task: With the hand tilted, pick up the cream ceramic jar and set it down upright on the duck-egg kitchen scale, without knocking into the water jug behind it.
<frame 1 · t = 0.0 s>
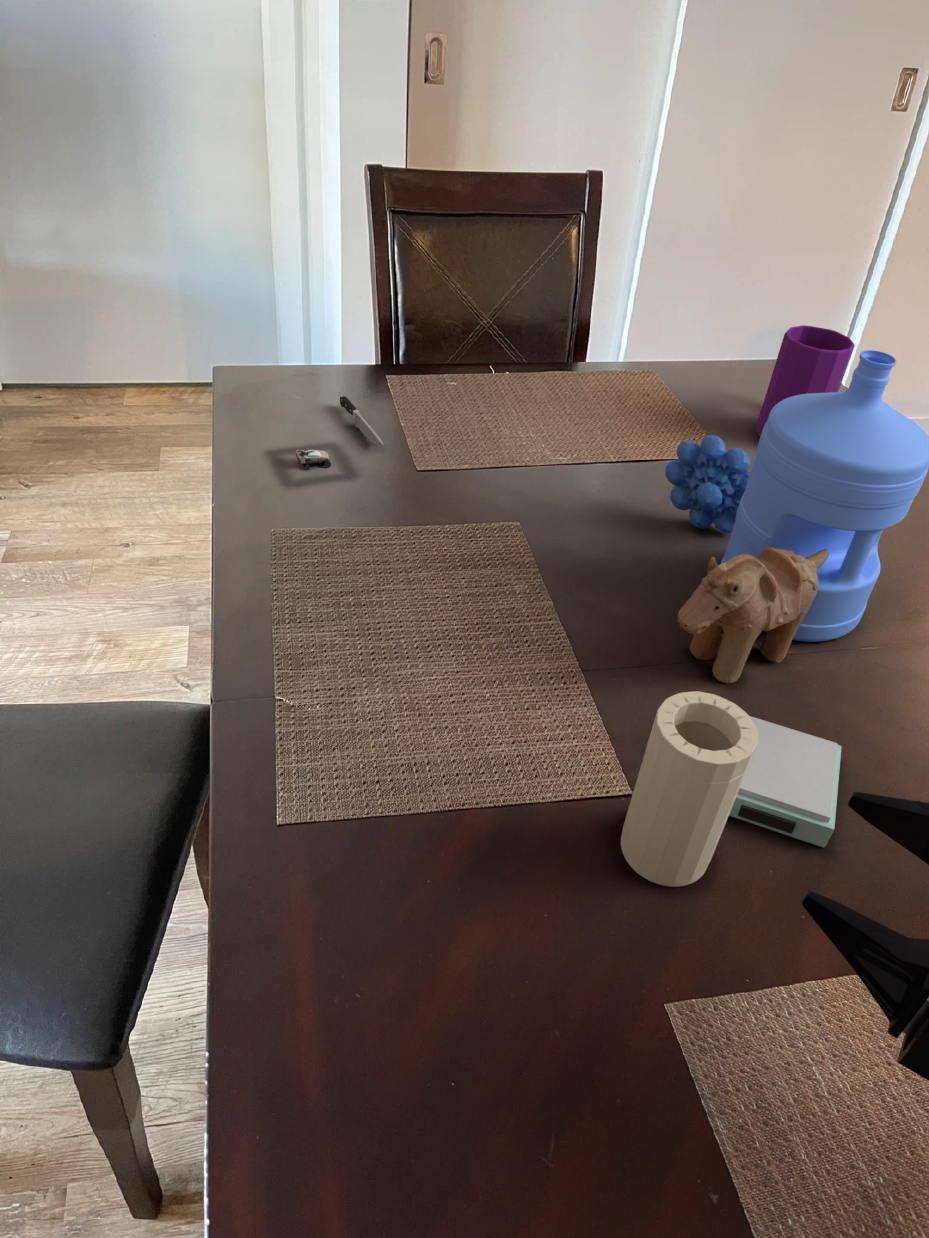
hand: (828, 844, 55), 15 cm above the table, tool horizontal, fingers open, 9 cm apart
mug: (786, 430, 134), on the table
water jug: (785, 601, 100), on the table
scale: (769, 784, 79), on the table
blue knobby flower: (698, 532, 110), on the table
jar: (664, 849, 72), on the table
figurine: (726, 666, 91), on the table
toy car: (312, 465, 115), on the table
knife: (361, 432, 123), on the table
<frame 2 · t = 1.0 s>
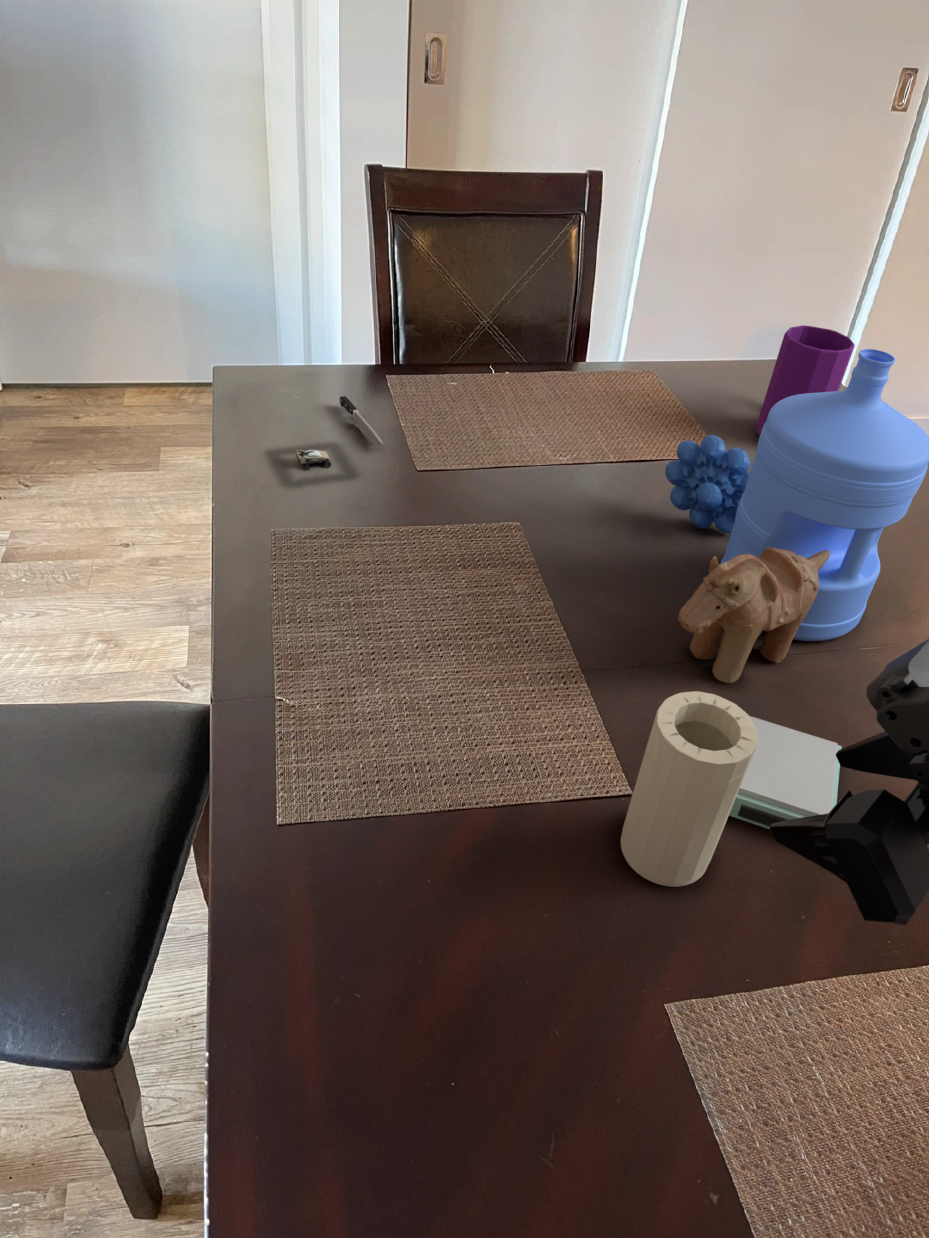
hand: (807, 793, 60), 14 cm above the table, tool tilted 45°, fingers open, 9 cm apart
nothing on the table moved.
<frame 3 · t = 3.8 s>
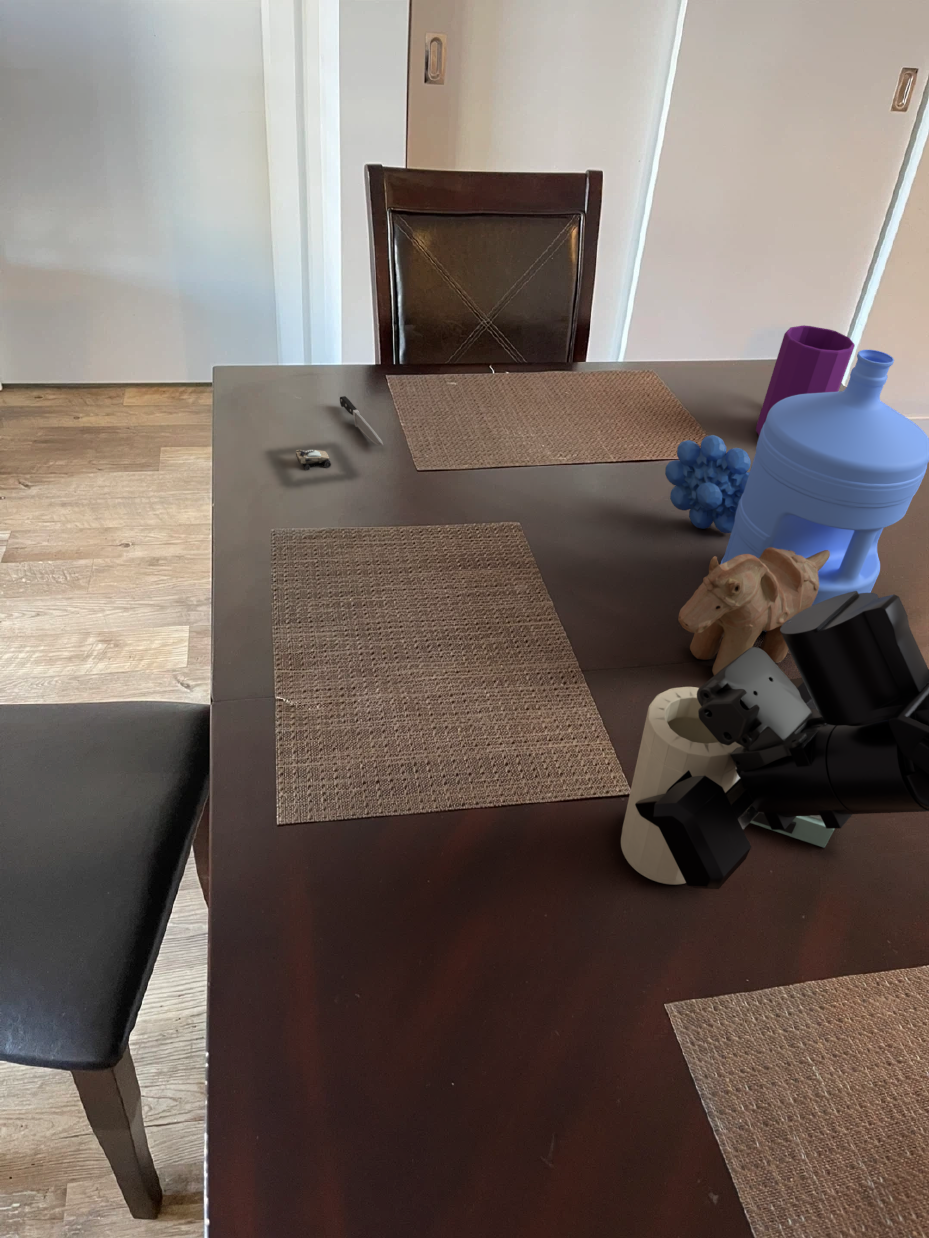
hand: (667, 782, 69), 7 cm above the table, tool tilted 45°, fingers closed on jar, 7 cm apart
jar: (664, 847, 72), on the table, touching gripper
everything else where it was.
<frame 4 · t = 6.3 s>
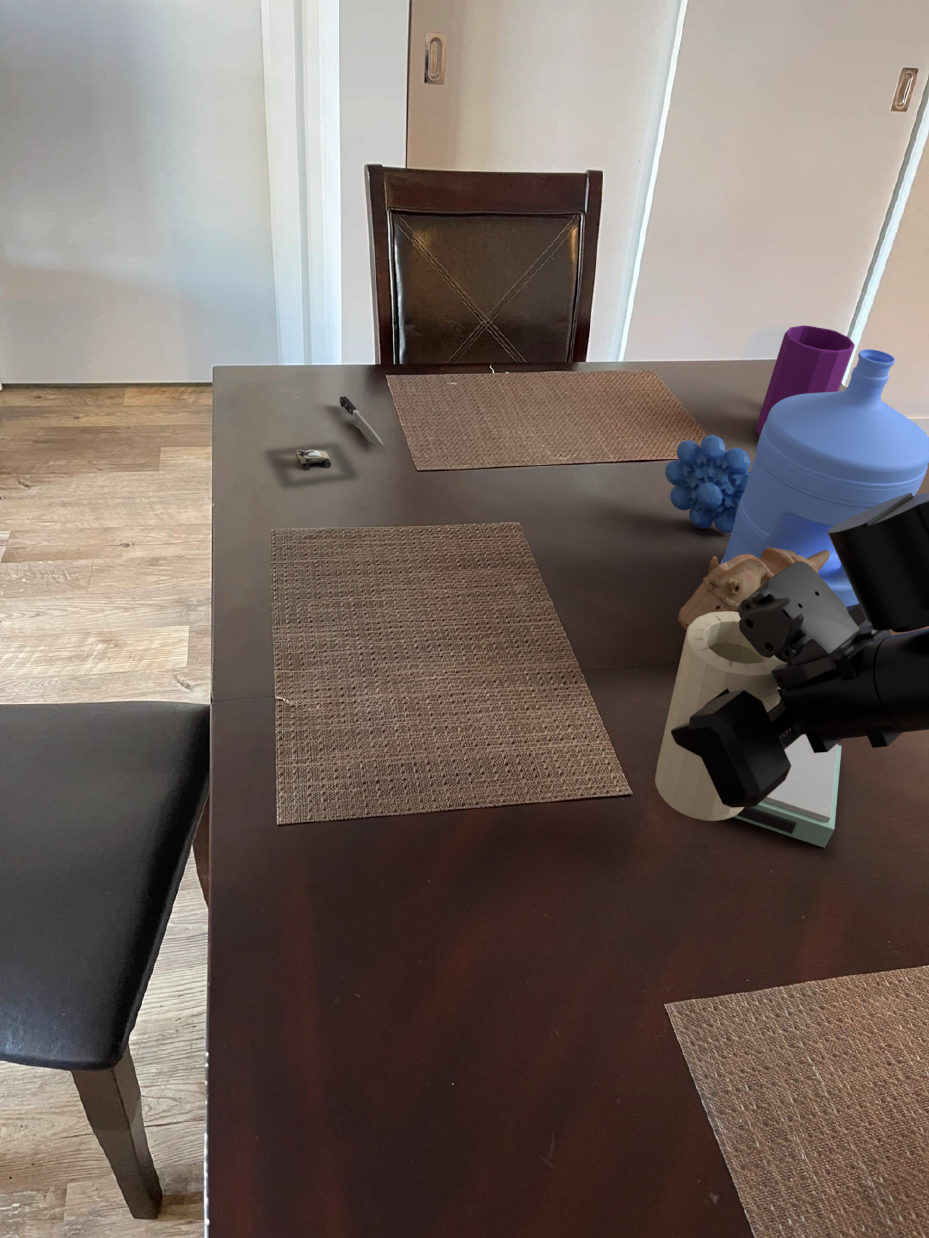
hand: (705, 713, 66), 13 cm above the table, tool tilted 45°, fingers closed on jar, 7 cm apart
jar: (701, 785, 70), point 6 cm above the table, touching gripper
everything else where it was.
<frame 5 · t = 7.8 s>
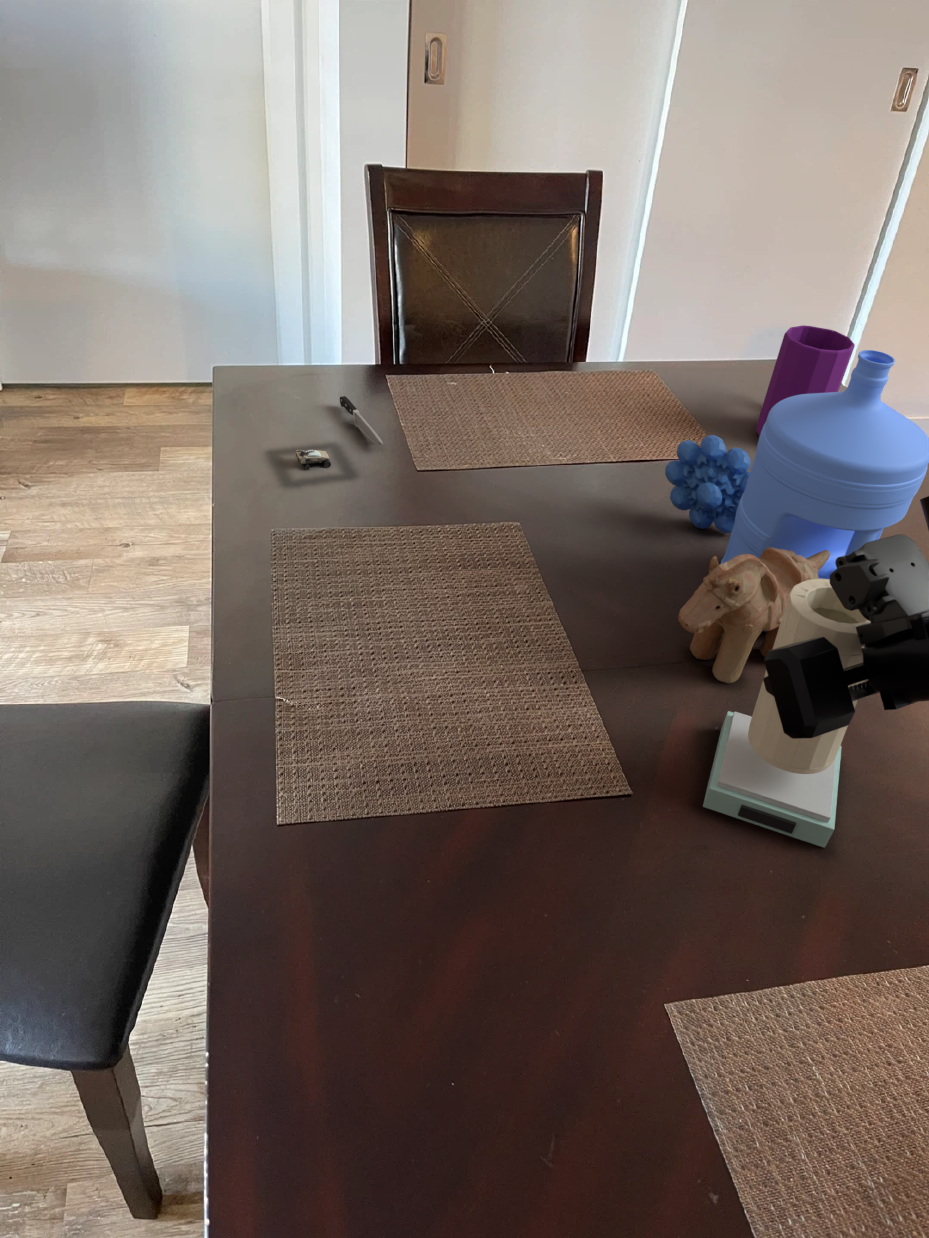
hand: (802, 673, 72), 12 cm above the table, tool tilted 45°, fingers closed on jar, 7 cm apart
jar: (791, 743, 75), point 5 cm above the table, touching gripper
everything else where it was.
when the fingers open (10 cm above the table, at t = 9.1 s): jar stays where it is, resting on scale.
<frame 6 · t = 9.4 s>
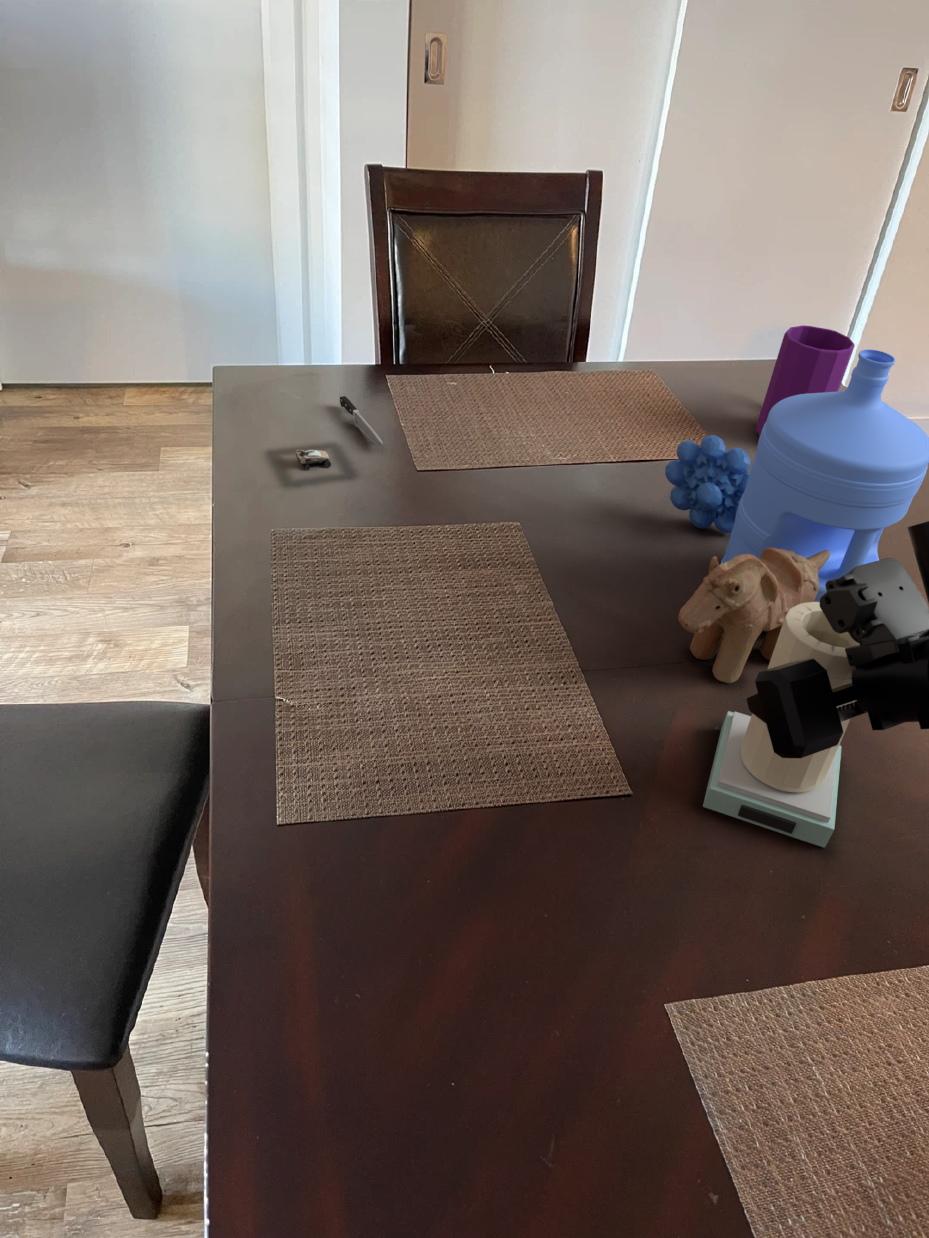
hand: (793, 690, 73), 10 cm above the table, tool tilted 45°, fingers open, 9 cm apart
jar: (782, 761, 76), point 3 cm above the table, touching gripper, scale
everything else where it was.
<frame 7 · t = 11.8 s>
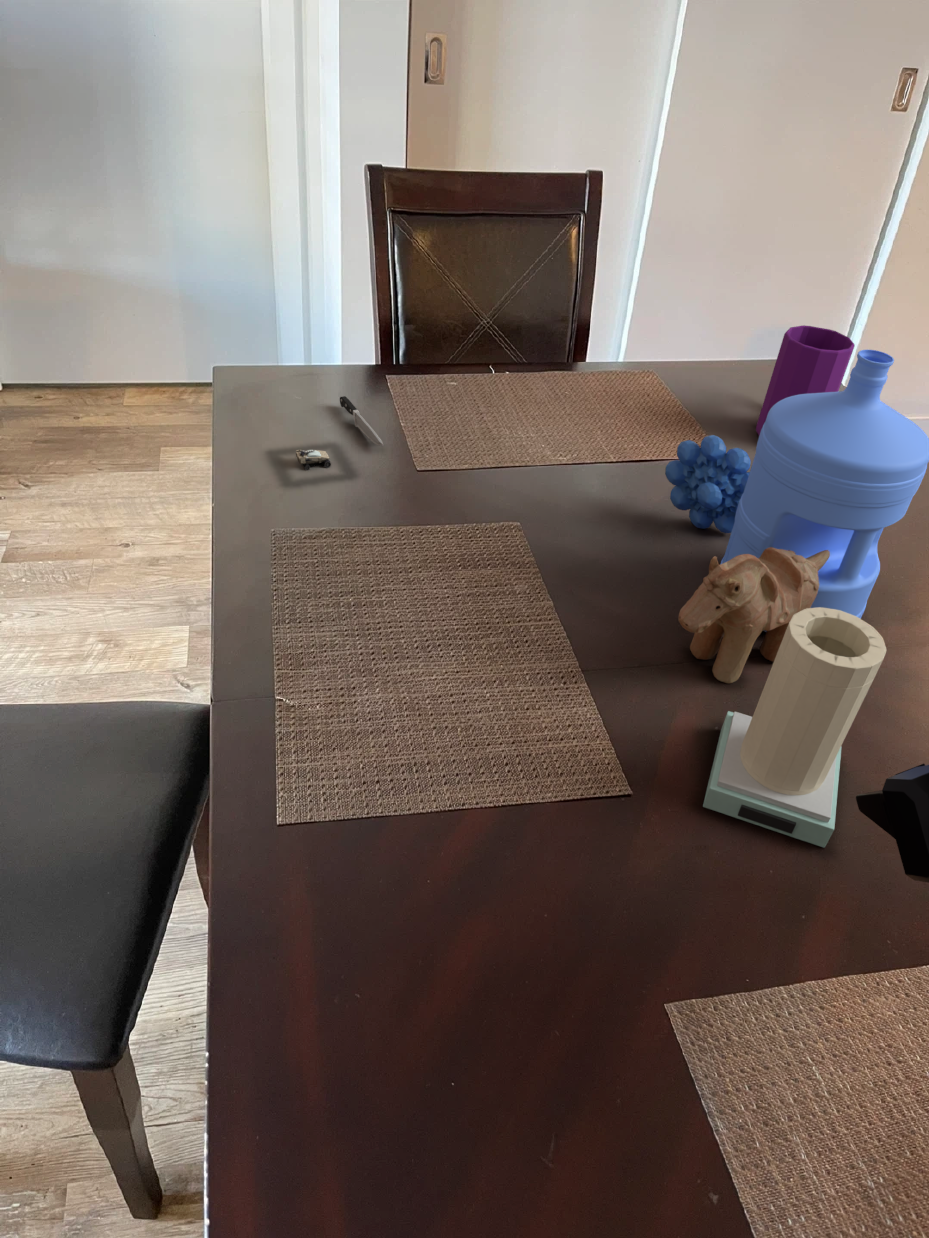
hand: (907, 783, 64), 12 cm above the table, tool tilted 45°, fingers open, 9 cm apart
jar: (782, 763, 77), point 3 cm above the table, touching scale
everything else where it was.
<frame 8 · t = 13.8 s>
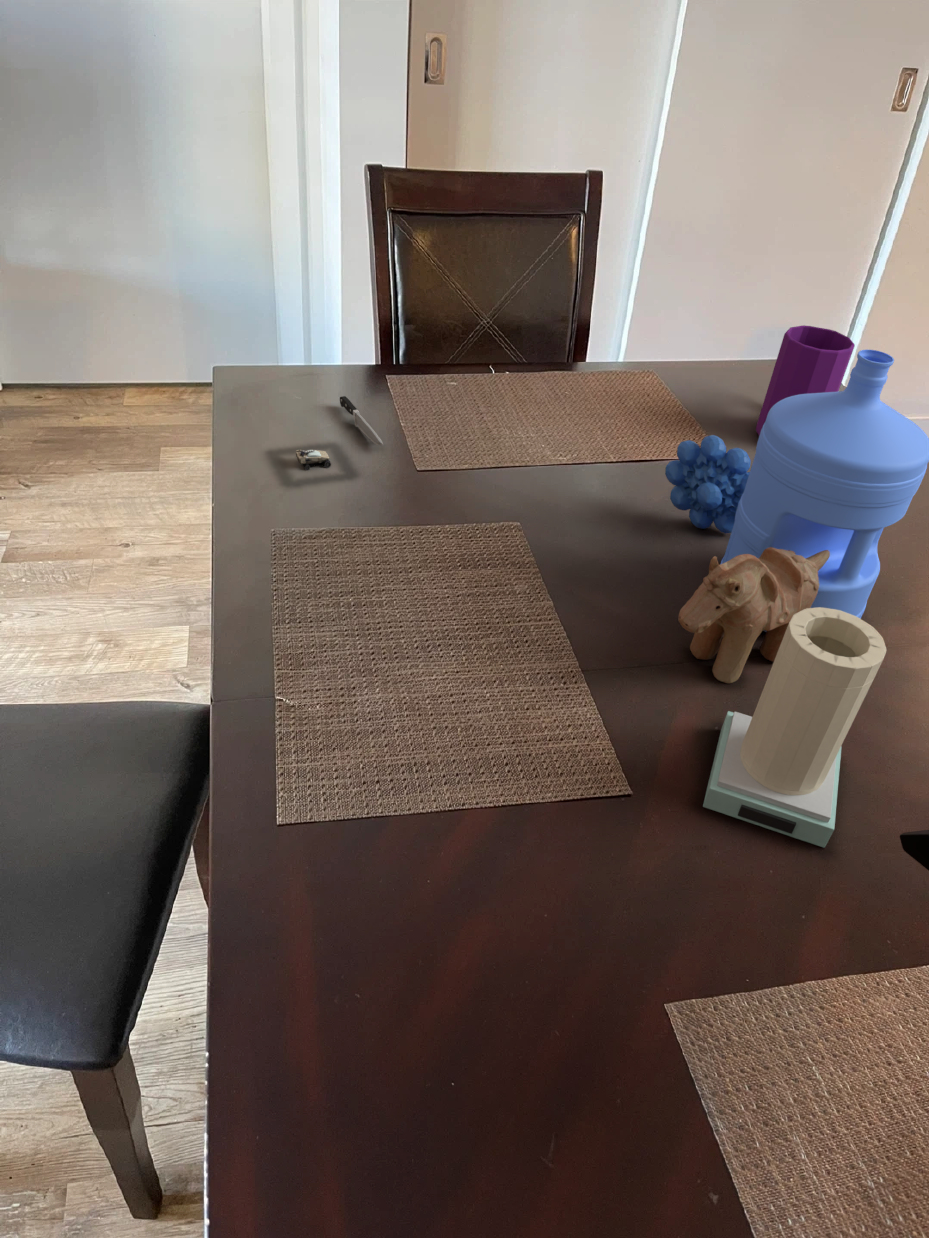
nothing on the table moved.
at the end: jar inside the target area on the scale (0.2 cm from its centre), point 3.0 cm above the scale's base; jar tilted 0°; jar touching scale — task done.
